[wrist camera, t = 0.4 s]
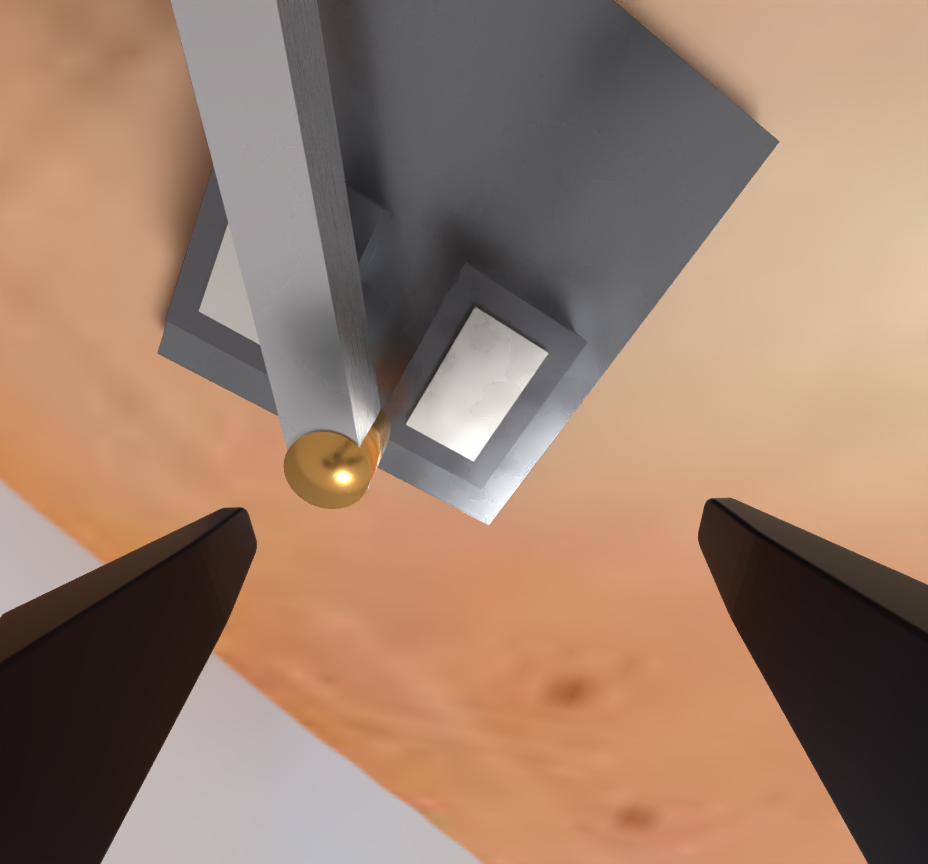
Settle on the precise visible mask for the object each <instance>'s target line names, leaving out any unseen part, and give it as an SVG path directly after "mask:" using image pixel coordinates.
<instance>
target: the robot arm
mask: <svg viewBox="0 0 928 864" xmlns="http://www.w3.org/2000/svg"><path fill="white" fill-rule="evenodd" d="M698 541H699V545H700V548H701V550H702V553H703V555H704V557H705V560H706V562H707V564H708V567H709V569H710V571H711V574H712V576H713V578H714V581H715V583H716V585H717V588H718V590H719V592H720V595H721V597H722V599H723V602H724V604H725V606H726V608H727V611H728V613H729V615H730V617H731V619H732V621H733V623H734V625H735V627H736V628H737V630H738V632H739V634H740V636H741V638H742V639H743V641H744V643H745V645H746V646H747V648H748V650H749V652H750V654H751V655H752V657H753V659H754V661H755V663H756V664H757V666H758V668H759V670H760V672H761V673H762V675H763V677H764V679H765V680H766V682H767V684H768V686H769V688H770V689H771V691H772V693H773V695H774V697H775V698H776V700H777V702H778V704H779V705H780V707H781V709H782V711H783V713H784V714H785V716H786V718H787V720H788V722H789V723H790V725H791V727H792V729H793V731H794V732H795V734H796V736H797V738H798V739H799V741H800V743H801V745H802V747H803V748H804V750H805V752H806V754H807V756H808V757H809V759H810V761H811V763H812V764H813V766H814V768H815V770H816V772H817V773H818V775H819V777H820V779H821V781H822V782H823V784H824V786H825V788H826V790H827V791H828V793H829V795H830V797H831V798H832V800H833V802H834V804H835V806H836V807H837V809H838V811H839V813H840V815H841V816H842V818H843V820H844V822H845V823H846V825H847V827H848V829H849V831H850V832H851V834H852V836H853V838H854V840H855V841H856V843H857V845H858V847H859V849H860V850H861V852H862V854H863V856H864V857H865V859H866V861H867V863H868V864H928V585H927V584H925V583H923V582H920V581H918V580H916V579H914V578H911V577H909V576H907V575H905V574H902V573H900V572H898V571H896V570H893V569H891V568H889V567H887V566H884V565H882V564H880V563H877V562H875V561H873V560H871V559H868V558H866V557H864V556H862V555H859V554H857V553H855V552H853V551H850V550H848V549H846V548H844V547H841V546H839V545H837V544H835V543H832V542H830V541H828V540H826V539H823V538H821V537H819V536H817V535H814V534H812V533H810V532H808V531H805V530H803V529H801V528H798V527H796V526H794V525H792V524H789V523H787V522H785V521H783V520H780V519H778V518H776V517H774V516H771V515H769V514H767V513H765V512H762V511H760V510H758V509H756V508H753V507H751V506H749V505H747V504H744V503H742V502H740V501H738V500H735V499H733V498H710V499H709V500H707V501H706V503H705V506H704V509H703V514H702V518H701V523H700V527H699V532H698ZM256 549H257V541H256V537H255V534H254V530H253V527H252V524H251V520H250V517H249V514H248V512H247V511H246V509H244V508H241V507H236V508H222V509H219V510H217V511H215V512H213V513H211V514H209V515H207V516H205V517H203V518H201V519H199V520H197V521H195V522H193V523H190V524H188V525H186V526H184V527H182V528H180V529H178V530H176V531H174V532H172V533H170V534H168V535H166V536H164V537H161V538H159V539H157V540H155V541H153V542H151V543H149V544H147V545H145V546H143V547H141V548H139V549H137V550H135V551H132V552H130V553H128V554H126V555H124V556H122V557H120V558H118V559H116V560H114V561H112V562H110V563H108V564H105V565H103V566H101V567H99V568H97V569H95V570H93V571H91V572H89V573H87V574H85V575H83V576H81V577H79V578H76V579H74V580H72V581H70V582H68V583H66V584H64V585H62V586H60V587H58V588H56V589H54V590H52V591H50V592H47V593H45V594H43V595H41V596H39V597H37V598H36V599H33V600H31V601H29V602H27V603H25V604H23V605H21V606H18V607H16V608H14V609H12V610H10V611H8V612H6V613H4V614H3V615H2V616H1V618H0V864H101V862H102V860H103V858H104V856H105V854H106V852H107V851H108V849H109V847H110V845H111V843H112V841H113V839H114V837H115V835H116V833H117V832H118V829H119V828H120V826H121V824H122V822H123V820H124V818H125V816H126V814H127V812H128V811H129V809H130V807H131V805H132V803H133V801H134V799H135V797H136V795H137V793H138V792H139V790H140V788H141V786H142V784H143V782H144V780H145V778H146V776H147V774H148V773H149V771H150V769H151V767H152V765H153V763H154V761H155V759H156V757H157V755H158V753H159V752H160V750H161V748H162V746H163V744H164V742H165V740H166V738H167V736H168V734H169V733H170V731H171V729H172V727H173V725H174V723H175V721H176V719H177V717H178V715H179V714H180V712H181V710H182V708H183V706H184V704H185V702H186V700H187V698H188V696H189V695H190V692H191V691H192V689H193V687H194V685H195V683H196V681H197V679H198V677H199V675H200V673H201V671H202V670H203V668H204V666H205V664H206V662H207V660H208V658H209V656H210V655H211V653H212V651H213V649H214V647H215V645H216V643H217V641H218V639H219V637H220V636H221V634H222V632H223V630H224V627H225V625H226V623H227V621H228V619H229V617H230V615H231V612H232V610H233V608H234V605H235V603H236V600H237V598H238V595H239V593H240V590H241V588H242V585H243V583H244V580H245V578H246V575H247V573H248V570H249V568H250V565H251V563H252V560H253V558H254V555H255V553H256Z"/></svg>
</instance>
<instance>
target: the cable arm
mask: <svg viewBox="0 0 928 864" xmlns="http://www.w3.org/2000/svg"><path fill="white" fill-rule="evenodd" d="M171 4H172V8H173V12H174V16H175V19H176V23H177V27H178V31H179V35H180V39H181V43H182V46H183V50H184V54H185V58H186V62H187V66H188V69H189V73H190V77H191V81H192V85H193V89H194V93H195V96H196V100H197V104H198V108H199V112H200V116H201V119H202V123H203V127H204V131H205V135H206V139H207V143H208V146H209V150H210V154H211V158H212V162H213V166H214V169H215V173H216V177H217V181H218V185H219V189H220V193H221V196H222V200H223V204H224V208H225V212H226V216H227V220H228V223H229V227H230V231H231V235H232V239H233V243H234V246H235V250H236V254H237V258H238V262H239V266H240V270H241V273H242V277H243V281H244V285H245V289H246V293H247V296H248V300H249V304H250V308H251V312H252V316H253V320H254V323H255V327H256V331H257V335H258V339H259V343H260V346H261V350H262V354H263V358H264V362H265V366H266V370H267V373H268V377H269V381H270V385H271V389H272V393H273V396H274V400H275V404H276V408H277V412H278V416H279V420H280V423H281V427H282V431H283V435H284V439H285V443H286V446H287V450H288V451H287V453H286V455H285V459H284V473H285V476H286V479H287V481H288V483H289V485H290V487H291V488H292V489H293V491H294V492H295V493H296V494H297V495H298V496H299V497H301V498H302V499H303V500H305V501H307V502H308V503H310V504H312V505H315V506H318V507H322V508H328V509H338V508H344V507H347V506H350V505H352V504H354V503H355V502H357V501H358V500H359V499H360V498H361V497H362V496H363V495H364V494H365V492H366V490H368V487H369V485H370V483H371V480H372V478H373V476H374V474H375V471H376V469H377V467H378V464H379V462H380V460H381V458H382V455H383V453H384V451H385V448H386V446H387V443H388V440H389V437H390V423H389V420H388V417H387V416H386V414H385V412H384V411H383V410H382V408H381V406H380V400H379V394H378V387H377V381H376V374H375V368H374V362H373V355H372V349H371V342H370V336H369V330H368V323H367V317H366V311H365V304H364V298H363V291H362V285H361V279H360V272H359V266H358V260H357V253H356V247H355V240H354V234H353V228H352V221H351V215H350V209H349V202H348V196H347V189H346V183H345V177H344V170H343V164H342V157H341V151H340V145H339V138H338V132H337V126H336V119H335V113H334V106H333V100H332V94H331V87H330V81H329V75H328V68H327V62H326V55H325V49H324V43H323V36H322V30H321V23H320V17H319V11H318V4H317V0H171Z"/></svg>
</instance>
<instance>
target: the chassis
mask: <svg viewBox="0 0 928 864" xmlns="http://www.w3.org/2000/svg"><path fill="white" fill-rule="evenodd" d="M317 4H318V11H319V17H320V23H321V30H322V36H323V43H324V49H325V55H326V62H327V68H328V75H329V81H330V87H331V94H332V100H333V106H334V113H335V119H336V126H337V132H338V138H339V145H340V151H341V157H342V164H343V170H344V177H345V183H346V189H347V196H348V202H349V209H350V215H351V221H352V228H353V234H354V240H355V247H356V253H357V260H358V266H359V272H360V279H361V285H362V291H363V298H364V304H365V311H366V317H367V323H368V330H369V336H370V342H371V349H372V355H373V362H374V368H375V374H376V381H377V387H378V394H379V400H380V406H381V408H382V410H383V411H384V412H385V414H386V416H387V417H388V420H389V423H390V437H389V440H388V443H387V446H386V448H385V451H384V453H383V455H382V458H381V460H380V462H379V464H378V468H380V469H382V470H383V471H385V472H387V473H389V474H391V475H393V476H395V477H397V478H399V479H401V480H403V481H405V482H407V483H409V484H411V485H412V486H414V487H416V488H418V489H420V490H422V491H424V492H426V493H428V494H430V495H432V496H434V497H436V498H438V499H439V500H441V501H443V502H445V503H447V504H449V505H451V506H453V507H455V508H457V509H459V510H461V511H463V512H465V513H467V514H468V515H470V516H472V517H474V518H476V519H478V520H480V521H482V522H484V523H486V524H488V525H489V524H490V523H491V521H492V520H493V519H494V517H495V516H496V515H497V513H498V512H499V511H500V510H501V508H502V507H503V506H504V504H505V503H506V502H507V500H508V499H509V498H510V496H511V495H512V494H513V492H514V491H515V490H516V488H517V487H518V486H519V484H520V483H521V482H522V481H523V479H524V478H525V477H526V475H527V474H528V473H529V471H530V470H531V469H532V467H533V466H534V465H535V463H536V462H537V461H538V459H539V458H540V457H541V455H542V454H543V453H544V451H545V450H546V449H547V448H548V446H549V445H550V444H551V442H552V441H553V440H554V438H555V437H556V436H557V434H558V433H559V432H560V430H561V429H562V428H563V426H564V425H565V424H566V422H567V421H568V420H569V419H570V417H571V416H572V415H573V413H574V412H575V411H576V409H577V408H578V407H579V405H580V404H581V403H582V401H583V400H584V399H585V397H586V396H587V395H588V393H589V392H590V391H591V389H592V388H593V387H594V386H595V384H596V383H597V382H598V380H599V379H600V378H601V376H602V375H603V374H604V372H605V371H606V370H607V368H608V367H609V366H610V364H611V363H612V362H613V360H614V359H615V358H616V357H617V355H618V354H619V353H620V351H621V350H622V349H623V347H624V346H625V345H626V343H627V342H628V341H629V339H630V338H631V337H632V335H633V334H634V333H635V331H636V330H637V329H638V327H639V326H640V325H641V324H642V322H643V321H644V320H645V318H646V317H647V316H648V314H649V313H650V312H651V310H652V309H653V308H654V306H655V305H656V304H657V302H658V301H659V300H660V298H661V297H662V296H663V295H664V293H665V292H666V291H667V289H668V288H669V287H670V285H671V284H672V283H673V281H674V280H675V279H676V277H677V276H678V275H679V273H680V272H681V271H682V269H683V268H684V267H685V265H686V264H687V263H688V262H689V260H690V259H691V258H692V256H693V255H694V254H695V252H696V251H697V250H698V248H699V247H700V246H701V244H702V243H703V242H704V240H705V239H706V238H707V236H708V235H709V234H710V233H711V231H712V230H713V229H714V227H715V226H716V225H717V223H718V222H719V221H720V219H721V218H722V217H723V215H724V214H725V213H726V211H727V210H728V209H729V207H730V206H731V205H732V203H733V202H734V201H735V200H736V198H737V197H738V196H739V194H740V193H741V192H742V190H743V189H744V188H745V186H746V185H747V184H748V182H749V181H750V180H751V178H752V177H753V176H754V174H755V173H756V172H757V171H758V169H759V168H760V167H761V165H762V164H763V163H764V161H765V160H766V159H767V157H768V156H769V155H770V153H771V152H772V151H773V149H774V148H775V147H776V145H777V144H778V143H779V141H778V140H777V139H776V138H775V137H773V136H772V135H771V134H770V133H769V132H768V131H766V130H765V129H764V128H763V127H762V126H760V125H759V124H758V123H757V122H756V121H755V120H753V119H752V118H751V117H750V116H749V115H748V114H746V113H745V112H744V111H743V110H742V109H740V108H739V107H738V106H737V105H736V104H735V103H733V102H732V101H731V100H730V99H729V98H727V97H726V96H725V95H724V94H723V93H722V92H720V91H719V90H718V89H717V88H716V87H715V86H713V85H712V84H711V83H710V82H709V81H707V80H706V79H705V78H704V77H703V76H702V75H700V74H699V73H698V72H697V71H696V70H694V69H693V68H692V67H691V66H690V65H689V64H687V63H686V62H685V61H684V60H683V59H682V58H680V57H679V56H678V55H677V54H676V53H674V52H673V51H672V50H671V49H670V48H669V47H667V46H666V45H665V44H664V43H663V42H662V41H660V40H659V39H658V38H657V37H656V36H654V35H653V34H652V33H651V32H650V31H649V30H647V29H646V28H645V27H644V26H643V25H641V24H640V23H639V22H638V21H637V20H636V19H634V18H633V17H632V16H631V15H630V14H629V13H627V12H626V11H625V10H624V9H623V8H621V7H620V6H619V5H618V4H617V3H616V2H614V1H613V0H317ZM166 321H167V324H166V327H165V330H164V334H163V337H162V340H161V343H160V346H159V350H158V354H159V355H161V356H163V357H165V358H167V359H169V360H171V361H173V362H175V363H177V364H179V365H181V366H183V367H185V368H186V369H188V370H190V371H192V372H194V373H196V374H198V375H200V376H202V377H204V378H206V379H208V380H210V381H212V382H214V383H215V384H217V385H219V386H221V387H223V388H225V389H227V390H229V391H231V392H233V393H235V394H237V395H239V396H241V397H242V398H244V399H246V400H248V401H250V402H252V403H254V404H256V405H258V406H260V407H262V408H264V409H266V410H268V411H270V412H271V413H273V414H275V415H277V416H278V412H277V408H276V404H275V400H274V396H273V393H272V389H271V385H270V381H269V377H268V373H267V370H266V366H265V362H264V358H263V354H262V350H261V346H260V343H259V339H258V335H257V331H256V327H255V323H254V320H253V316H252V312H251V308H250V304H249V300H248V296H247V293H246V289H245V285H244V281H243V277H242V273H241V270H240V266H239V262H238V258H237V254H236V250H235V246H234V243H233V239H232V235H231V231H230V227H229V223H228V220H227V216H226V212H225V208H224V204H223V200H222V196H221V193H220V189H219V185H218V181H217V177H216V173H215V169H214V166H213V168H212V172H211V175H210V178H209V181H208V184H207V188H206V191H205V194H204V197H203V201H202V204H201V207H200V210H199V214H198V217H197V220H196V223H195V227H194V230H193V233H192V236H191V240H190V243H189V246H188V249H187V253H186V256H185V259H184V262H183V266H182V269H181V272H180V275H179V279H178V282H177V285H176V288H175V292H174V295H173V298H172V301H171V305H170V308H169V311H168V314H167V318H166Z"/></svg>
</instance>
